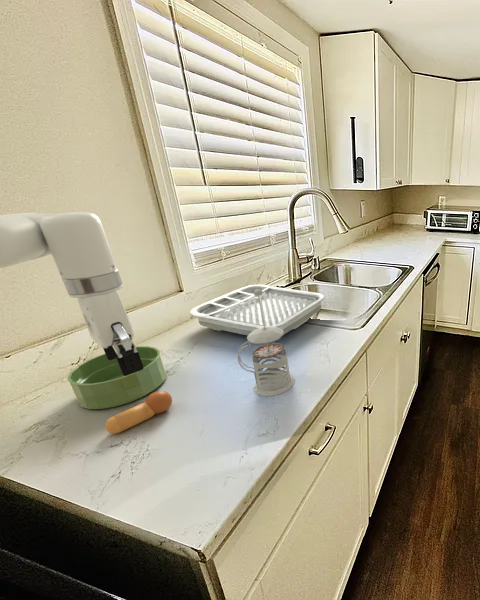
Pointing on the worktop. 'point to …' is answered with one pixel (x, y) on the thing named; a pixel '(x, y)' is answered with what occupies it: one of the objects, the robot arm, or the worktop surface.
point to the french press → (272, 377)
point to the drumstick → (139, 412)
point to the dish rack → (258, 309)
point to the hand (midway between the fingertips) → (125, 364)
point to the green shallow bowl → (116, 380)
